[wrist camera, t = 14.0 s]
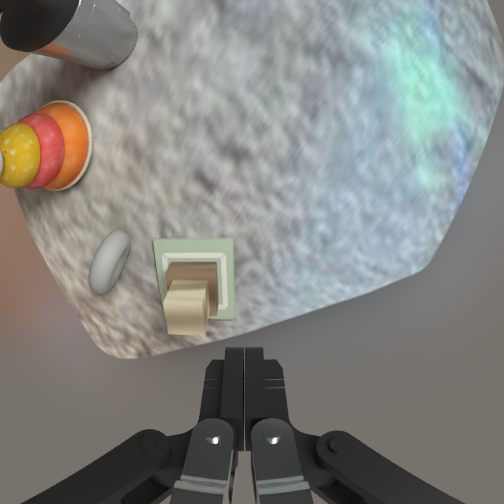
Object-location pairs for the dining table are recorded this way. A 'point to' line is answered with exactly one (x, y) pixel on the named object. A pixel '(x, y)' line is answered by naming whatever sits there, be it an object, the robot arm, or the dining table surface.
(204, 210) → the dining table surface
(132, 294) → the dining table surface
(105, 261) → the donut
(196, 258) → the build board
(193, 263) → the walnut block
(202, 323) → the maple block
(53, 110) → the stacking toy
